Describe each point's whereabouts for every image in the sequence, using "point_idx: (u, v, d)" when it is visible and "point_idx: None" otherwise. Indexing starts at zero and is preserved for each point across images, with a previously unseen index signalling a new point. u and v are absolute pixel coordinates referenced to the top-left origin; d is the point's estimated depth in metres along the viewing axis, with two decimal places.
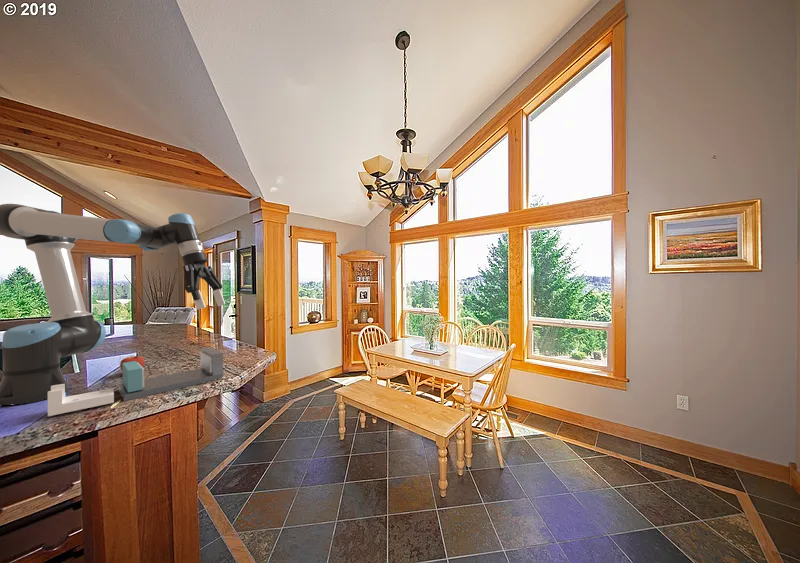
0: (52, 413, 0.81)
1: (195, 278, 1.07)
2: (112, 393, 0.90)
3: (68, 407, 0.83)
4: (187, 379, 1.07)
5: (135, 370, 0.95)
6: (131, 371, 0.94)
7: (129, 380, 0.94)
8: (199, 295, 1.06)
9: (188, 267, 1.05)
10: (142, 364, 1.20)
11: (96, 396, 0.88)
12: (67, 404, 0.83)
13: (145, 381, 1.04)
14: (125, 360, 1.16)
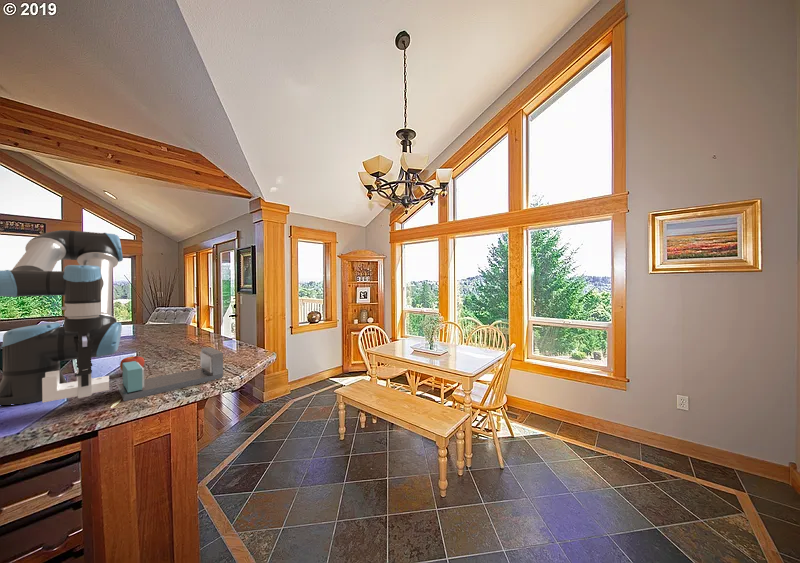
0: (47, 399, 0.81)
1: None
2: (107, 381, 0.90)
3: (63, 394, 0.83)
4: (187, 379, 1.07)
5: (135, 370, 0.95)
6: (131, 371, 0.94)
7: (129, 380, 0.94)
8: None
9: None
10: (142, 364, 1.20)
11: (92, 383, 0.88)
12: (62, 391, 0.83)
13: (145, 381, 1.04)
14: (125, 360, 1.16)
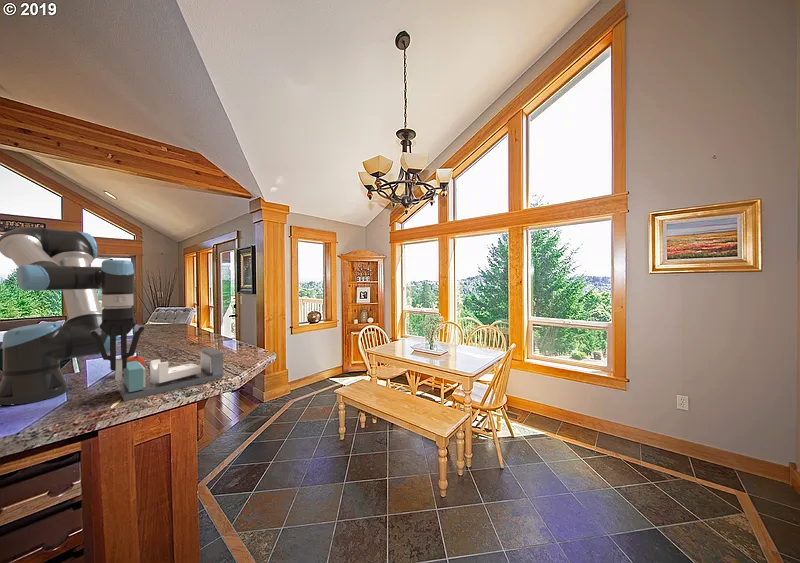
0: (162, 380, 1.01)
1: (110, 343, 0.94)
2: (198, 365, 1.12)
3: (172, 376, 1.03)
4: (187, 379, 1.07)
5: (136, 370, 0.95)
6: (132, 371, 0.94)
7: (130, 380, 0.94)
8: (115, 366, 0.95)
9: (92, 335, 0.91)
10: (142, 364, 1.20)
11: (188, 367, 1.09)
12: (171, 374, 1.03)
13: (145, 381, 1.04)
14: None
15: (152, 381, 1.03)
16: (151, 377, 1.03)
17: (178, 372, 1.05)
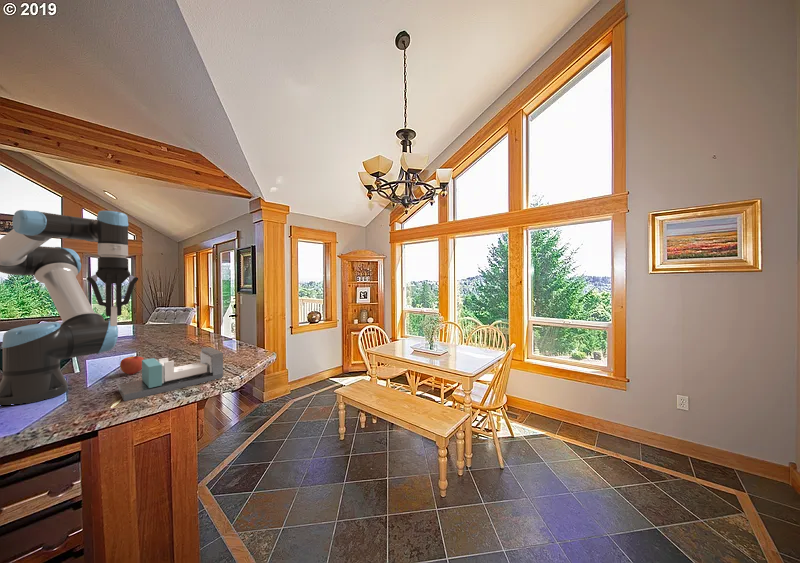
0: (167, 379, 1.02)
1: (106, 290, 0.99)
2: (205, 365, 1.12)
3: (178, 375, 1.05)
4: (187, 379, 1.07)
5: (155, 366, 0.99)
6: (152, 367, 0.98)
7: (150, 376, 0.97)
8: (110, 312, 1.00)
9: None
10: None
11: (195, 367, 1.10)
12: (177, 372, 1.04)
13: None
14: (125, 360, 1.16)
15: None
16: None
17: (184, 371, 1.06)
